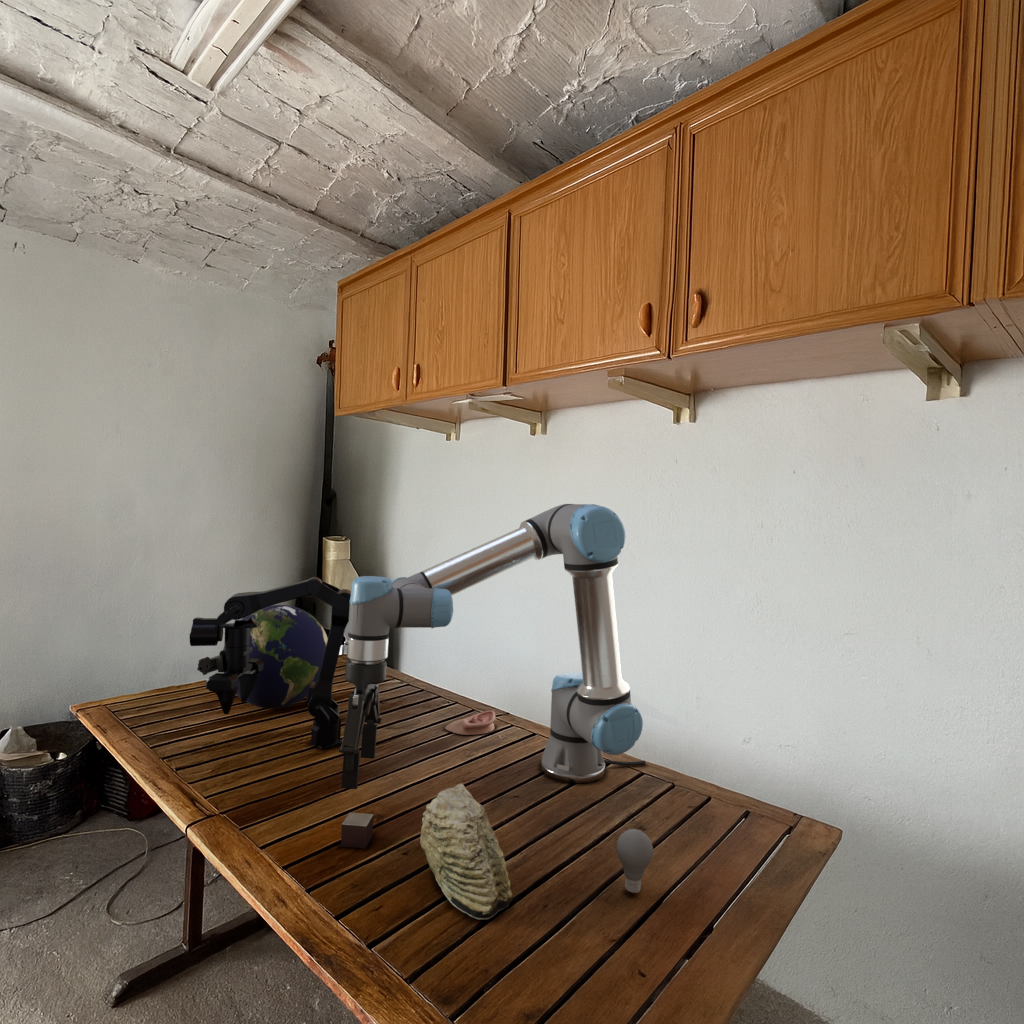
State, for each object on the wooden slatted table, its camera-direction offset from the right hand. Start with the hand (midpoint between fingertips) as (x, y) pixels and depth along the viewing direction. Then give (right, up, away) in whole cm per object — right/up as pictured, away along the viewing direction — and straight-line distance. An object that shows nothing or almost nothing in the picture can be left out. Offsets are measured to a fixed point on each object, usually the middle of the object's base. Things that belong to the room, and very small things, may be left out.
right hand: (359, 772), depth 119 cm
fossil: (+21, -13, -15) cm, 28 cm away
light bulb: (+49, -15, -13) cm, 53 cm away
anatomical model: (+17, -12, +58) cm, 62 cm away
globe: (-42, -9, +69) cm, 81 cm away
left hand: (-40, 0, +38) cm, 55 cm away
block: (0, -12, -2) cm, 12 cm away
